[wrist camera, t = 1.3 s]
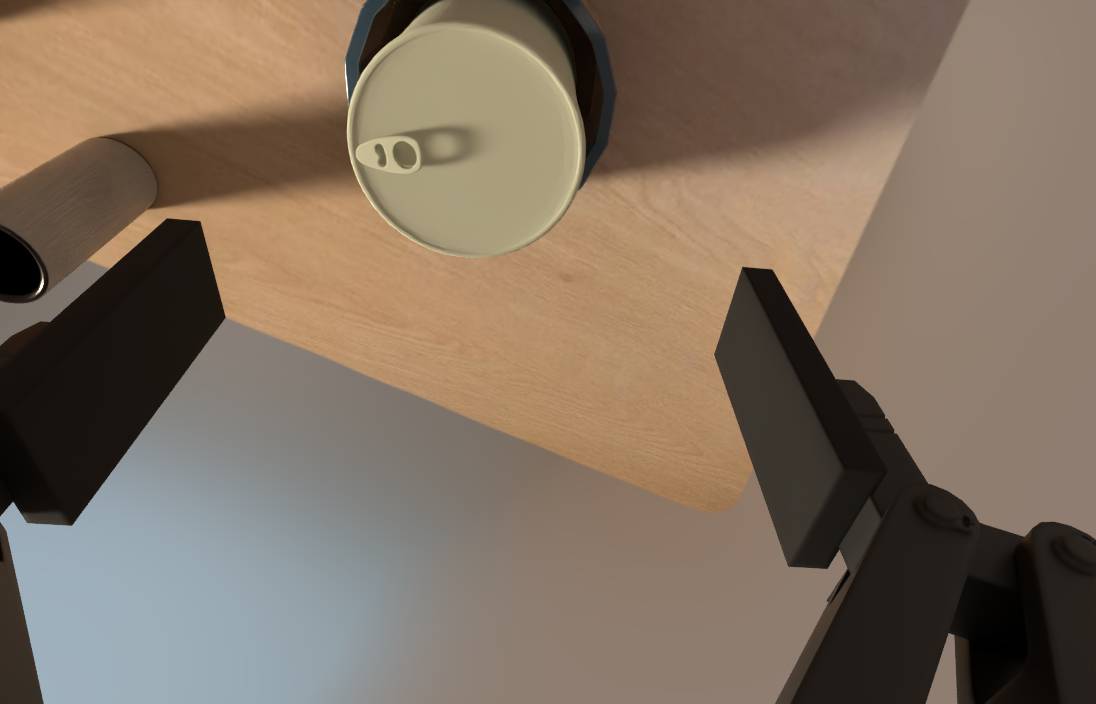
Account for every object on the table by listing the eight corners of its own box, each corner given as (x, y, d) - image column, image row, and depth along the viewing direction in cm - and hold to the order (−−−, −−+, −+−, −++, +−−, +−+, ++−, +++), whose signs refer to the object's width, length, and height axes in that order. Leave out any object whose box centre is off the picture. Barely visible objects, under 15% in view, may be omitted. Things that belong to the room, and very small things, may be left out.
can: (387, -22, 30) (313, 24, 21) (576, -26, 30) (590, 18, 21) (415, 164, 36) (367, 267, 26) (575, 161, 36) (586, 264, 26)
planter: (69, 187, 37) (-68, 277, 28) (80, 120, 34) (-66, 197, 26) (150, 224, 38) (42, 319, 30) (166, 163, 36) (53, 247, 28)
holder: (320, 57, 32) (289, 82, 28) (499, -131, 28) (492, -132, 24) (481, 228, 38) (473, 268, 34) (651, 96, 34) (665, 126, 30)
